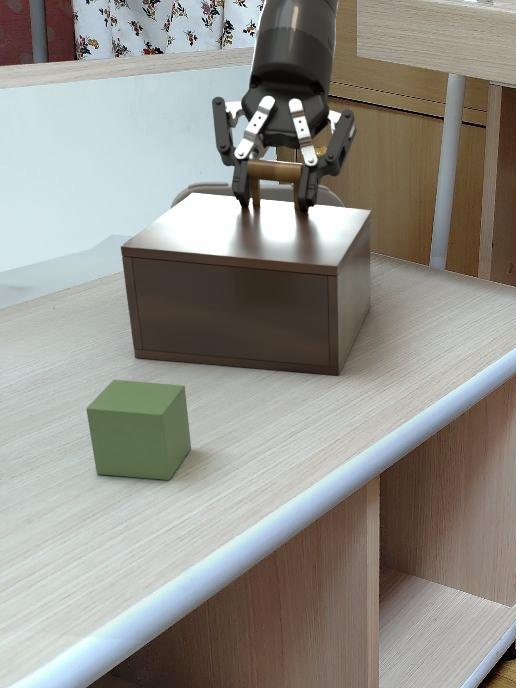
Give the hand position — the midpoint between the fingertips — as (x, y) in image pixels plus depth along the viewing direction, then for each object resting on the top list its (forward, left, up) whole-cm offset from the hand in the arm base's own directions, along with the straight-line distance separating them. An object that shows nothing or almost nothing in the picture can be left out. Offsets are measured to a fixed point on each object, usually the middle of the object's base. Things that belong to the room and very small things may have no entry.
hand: (272, 204), depth 94 cm
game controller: (-14, +9, -10) cm, 20 cm away
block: (+20, -27, -10) cm, 35 cm away
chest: (+4, -5, -10) cm, 12 cm away
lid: (+4, -5, -1) cm, 6 cm away
